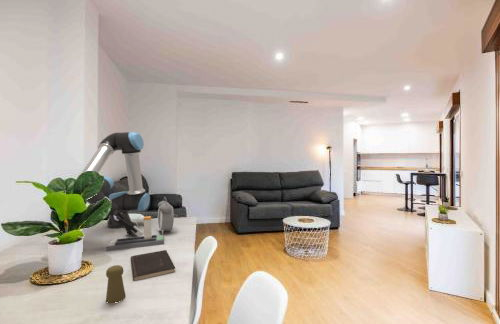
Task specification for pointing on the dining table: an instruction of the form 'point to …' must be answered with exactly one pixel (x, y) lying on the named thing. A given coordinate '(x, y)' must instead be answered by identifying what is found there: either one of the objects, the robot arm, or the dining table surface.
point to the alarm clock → (165, 216)
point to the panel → (134, 242)
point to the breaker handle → (147, 227)
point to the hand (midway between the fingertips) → (141, 235)
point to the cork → (115, 284)
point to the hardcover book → (151, 265)
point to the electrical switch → (131, 231)
